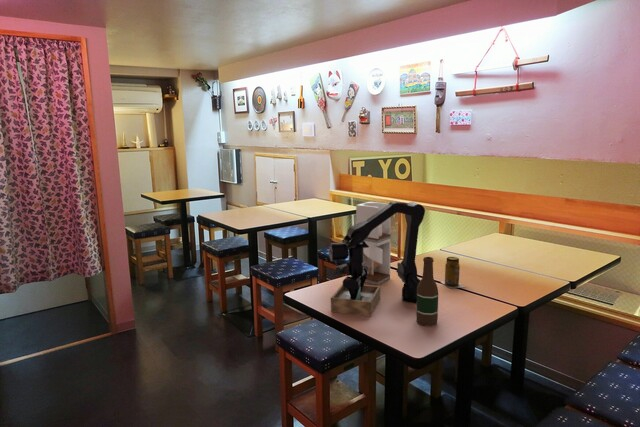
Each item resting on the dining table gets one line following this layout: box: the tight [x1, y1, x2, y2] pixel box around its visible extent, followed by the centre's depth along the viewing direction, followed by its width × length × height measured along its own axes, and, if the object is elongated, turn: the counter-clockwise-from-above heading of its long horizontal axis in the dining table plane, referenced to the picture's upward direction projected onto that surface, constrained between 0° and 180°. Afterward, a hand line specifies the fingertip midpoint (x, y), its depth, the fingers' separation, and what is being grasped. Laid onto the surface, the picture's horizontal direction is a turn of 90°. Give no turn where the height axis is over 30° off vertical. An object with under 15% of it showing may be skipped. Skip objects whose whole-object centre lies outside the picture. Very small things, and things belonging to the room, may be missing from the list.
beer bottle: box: [415, 256, 439, 327], centre depth 158 cm, size 8×8×24 cm
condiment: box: [440, 256, 465, 289], centre depth 196 cm, size 7×8×12 cm
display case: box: [355, 201, 392, 286], centre depth 203 cm, size 11×11×35 cm
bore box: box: [330, 283, 381, 317], centre depth 176 cm, size 16×18×6 cm
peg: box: [356, 286, 361, 300], centre depth 176 cm, size 3×3×8 cm
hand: (356, 296), depth 176 cm, fingers open, 9 cm apart
